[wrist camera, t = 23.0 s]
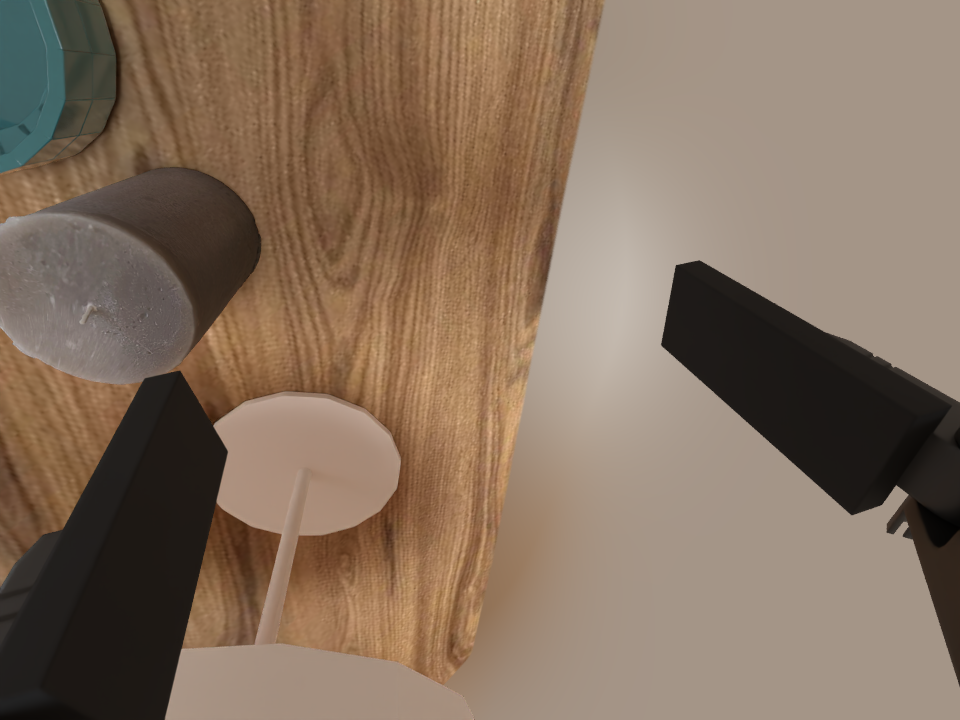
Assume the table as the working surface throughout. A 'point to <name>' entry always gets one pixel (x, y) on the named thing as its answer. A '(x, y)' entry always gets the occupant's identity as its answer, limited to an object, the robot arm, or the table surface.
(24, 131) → the bowl
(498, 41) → the table surface
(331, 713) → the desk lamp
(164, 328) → the pillar candle
